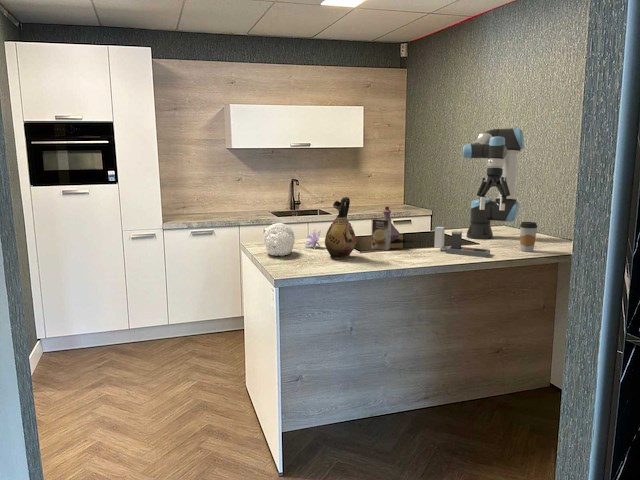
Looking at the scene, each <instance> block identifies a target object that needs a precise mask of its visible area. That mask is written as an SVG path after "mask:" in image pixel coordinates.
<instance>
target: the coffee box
mask: <svg viewBox="0 0 640 480" xmlns="http://www.w3.org/2000/svg"><path fill="white" fill-rule="evenodd" d="M371 220H372V223H371V249H374V250H381V251H382V250H383V251H388V250H390V249H391V242H390V240H391V223H392V219H391V218H390V219H383V217H382V218H381V217H375V218H373V219H371Z"/></svg>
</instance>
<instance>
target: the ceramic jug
mask: <svg viewBox="0 0 640 480" xmlns="http://www.w3.org/2000/svg"><path fill="white" fill-rule="evenodd" d="M350 201H351V200H350V197H349V196H345V197H344V196H343V197H342V198H341V199H340V201H338V200H335V201H334V202H333V204H332V207H333V208H334V209H336V210H337V211H338V214H337V215H336V218H335V219H334V220H333V221H332V222H331V224H330V226H329V228H328V229H327V231H326V235H325V238H324V246H325V249H326V250H327V252H328V254H329V258H331V259H333V260H335V259H337V260H345V258H346V259H349V258H350V255H351V254H352V252H353V251H354V249H355V247H356V244H357V238H356V234H355V230H354V228H353V226H352V225H351V222H350V221H349V220H348V213H349V209H350V205H351V202H350Z"/></svg>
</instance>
